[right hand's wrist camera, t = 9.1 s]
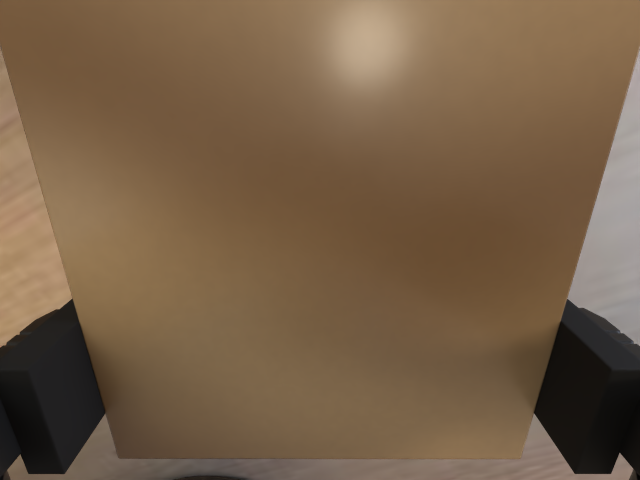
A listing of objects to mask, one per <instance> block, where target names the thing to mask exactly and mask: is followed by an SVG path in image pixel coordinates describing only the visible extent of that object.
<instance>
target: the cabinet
mask: <svg viewBox="0 0 640 480" xmlns="http://www.w3.org/2000/svg"><path fill="white" fill-rule="evenodd" d="M0 47H1V50H2V54H3V57H4V61H5V64H6V68H7V71H8V75H9V78H10V81H11V85H12V88H13V92H14V95H15V99H16V102H17V106H18V109H19V113H20V116H21V120H22V123H23V127H24V130H25V134H26V137H27V141H28V144H29V148H30V151H31V155H32V158H33V162H34V165H35V169H36V172H37V176H38V179H39V183H40V186H41V190H42V193H43V197H44V200H45V204H46V207H47V211H48V214H49V218H50V221H51V225H52V228H53V232H54V235H55V239H56V242H57V246H58V249H59V252H60V256H61V259H62V263H63V266H64V270H65V273H66V277H67V280H68V284H69V287H70V291H71V294H72V298H73V301H74V305H75V308H76V312H77V315H78V319H79V322H80V326H81V329H82V333H83V336H84V340H85V343H86V347H87V350H88V354H89V357H90V361H91V364H92V368H93V371H94V375H95V378H96V382H97V385H98V389H99V392H100V396H101V399H102V403H103V406H104V410H105V413H106V417H107V420H108V423H109V427H110V430H111V434H112V437H113V441H114V444H115V448H116V451H117V455H118V458H124V459H520V458H521V455H522V452H523V448H524V445H525V441H526V438H527V435H528V431H529V428H530V424H531V421H532V417H533V414H534V411H535V407H536V404H537V400H538V397H539V393H540V390H541V387H542V383H543V380H544V376H545V373H546V369H547V366H548V363H549V359H550V356H551V352H552V349H553V345H554V342H555V339H556V335H557V332H558V328H559V325H560V321H561V318H562V315H563V311H564V308H565V304H566V301H567V297H568V294H569V291H570V287H571V284H572V280H573V277H574V273H575V270H576V266H577V263H578V260H579V256H580V253H581V249H582V246H583V242H584V239H585V236H586V232H587V229H588V225H589V222H590V218H591V215H592V212H593V208H594V205H595V201H596V198H597V194H598V191H599V188H600V184H601V181H602V177H603V174H604V170H605V167H606V164H607V160H608V157H609V153H610V150H611V146H612V143H613V140H614V136H615V133H616V129H617V126H618V122H619V119H620V116H621V112H622V109H623V105H624V102H625V98H626V95H627V92H628V88H629V85H630V81H631V78H632V74H633V71H634V68H635V64H636V61H637V57H638V54H639V50H640V0H0Z"/></svg>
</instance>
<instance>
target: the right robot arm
mask: <svg viewBox="0 0 640 480" xmlns="http://www.w3.org/2000/svg"><path fill="white" fill-rule="evenodd" d="M104 414H105V410H104V406H103V403H102V399H101V396H100V392H99V389H98V385H97V382H96V378H95V375H94V371H93V368H92V364H91V361H90V357H89V354H88V350H87V347H86V343H85V340H84V336H83V333H82V329H81V326H80V322H79V319H78V315H77V312H76V308H75V305H74V301H73V299H71V300H70V301H69V302H68V303H67V304H65V305H64V306H63V307H62V308H61V309H56V310H54V311H52V312H50V313H48V314H46V315H44V316H42V317H40V318H38V319H36V320H35V321H34V322H32V323H31V324H30V325H28V326H27V327H26V328H25V329H23V330H22V331H21V332H20V335H16V336H15V337H13V338H12V339H11V340H10V341H8V342H7V344H6V346H2V347H1V348H0V480H10V476H9V474H8V472H7V469H8V468H9V467H10V466H11V464H12V463H13V462H14V461H15V460H16V458H17V457H18V456H19V455H20V454H21V457H22V459H23V462H24V464H25V466H26V469H27V471H28V474H65V473H66V471H67V470H68V468H69V467H70V465H71V464H72V462H73V461H74V459H75V458H76V456H77V455H78V453H79V452H80V450H81V449H82V447H83V446H84V444H85V443H86V441H87V440H88V438H89V437H90V435H91V434H92V432H93V431H94V429H95V428H96V426H97V425H98V423H99V422H100V420H101V419H102V417H103V416H104ZM534 414H535V415H536V417H537V418H538V420H539V421H540V423H541V424H542V425H543V427H544V428H545V430H546V431H547V433H548V434H549V436H550V437H551V439H552V440H553V442H554V443H555V445H556V446H557V448H558V449H559V451H560V452H561V454H562V455H563V457H564V458H565V460H566V461H567V463H568V464H569V466H570V467H571V469H572V470H573V472H574V473H575V474H611V472H612V470H613V468H614V465H615V463H616V460H617V458H618V455H619V453H621V454H622V456H623V457H624V458H625V459H626V460H627V462H628V463H629V464H630V465H631V466H632V468H633V472H632V474H631V476H630V479H629V480H640V346H639V345H637V344H634V343H633V341H632V340H631V339H630V338H629V337H627V336H626V335H625V334H623V333H620V330H618V329H617V328H616V327H615V326H613V325H612V324H611V323H609V322H608V321H607V320H606V319H604V318H602V317H600V316H598V315H596V314H594V313H592V312H590V311H588V310H587V309H585V308H578V307H577V306H575V305H574V304H573V303H572V302H571V301H569V300H568V299H567V301H566V304H565V308H564V311H563V315H562V318H561V321H560V325H559V328H558V332H557V335H556V339H555V342H554V345H553V349H552V352H551V356H550V359H549V363H548V366H547V369H546V373H545V376H544V380H543V383H542V387H541V390H540V393H539V397H538V400H537V404H536V407H535V411H534ZM174 480H239V479H234V478H228V477H218V476H194V477H185V478H180V479H174Z"/></svg>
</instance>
